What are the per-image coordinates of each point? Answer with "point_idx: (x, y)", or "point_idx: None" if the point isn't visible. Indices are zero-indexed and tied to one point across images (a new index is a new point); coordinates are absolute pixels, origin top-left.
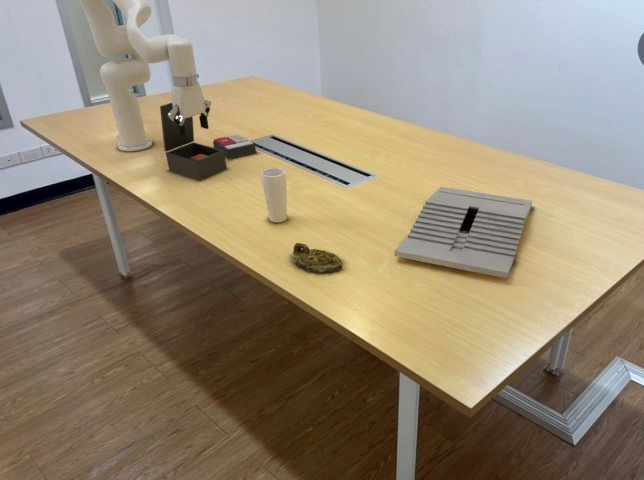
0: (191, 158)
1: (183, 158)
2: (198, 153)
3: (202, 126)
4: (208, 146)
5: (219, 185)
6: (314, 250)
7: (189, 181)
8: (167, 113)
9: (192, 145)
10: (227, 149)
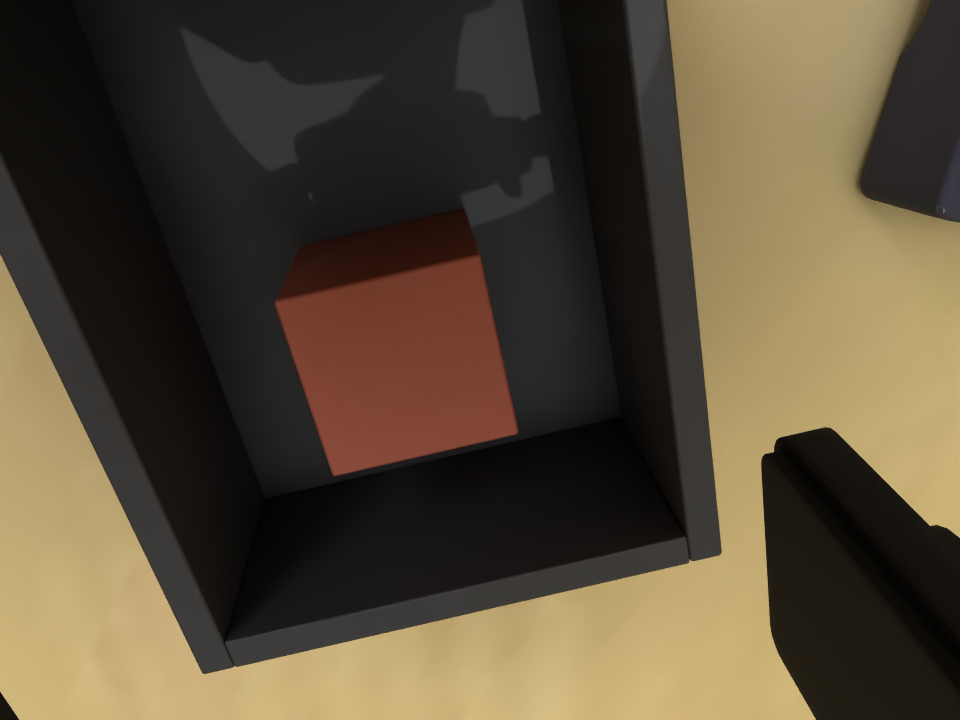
0: (283, 321)
1: (94, 441)
2: None
3: (781, 532)
4: (685, 245)
5: (356, 690)
6: None
7: None
8: None
9: None
10: (946, 196)
